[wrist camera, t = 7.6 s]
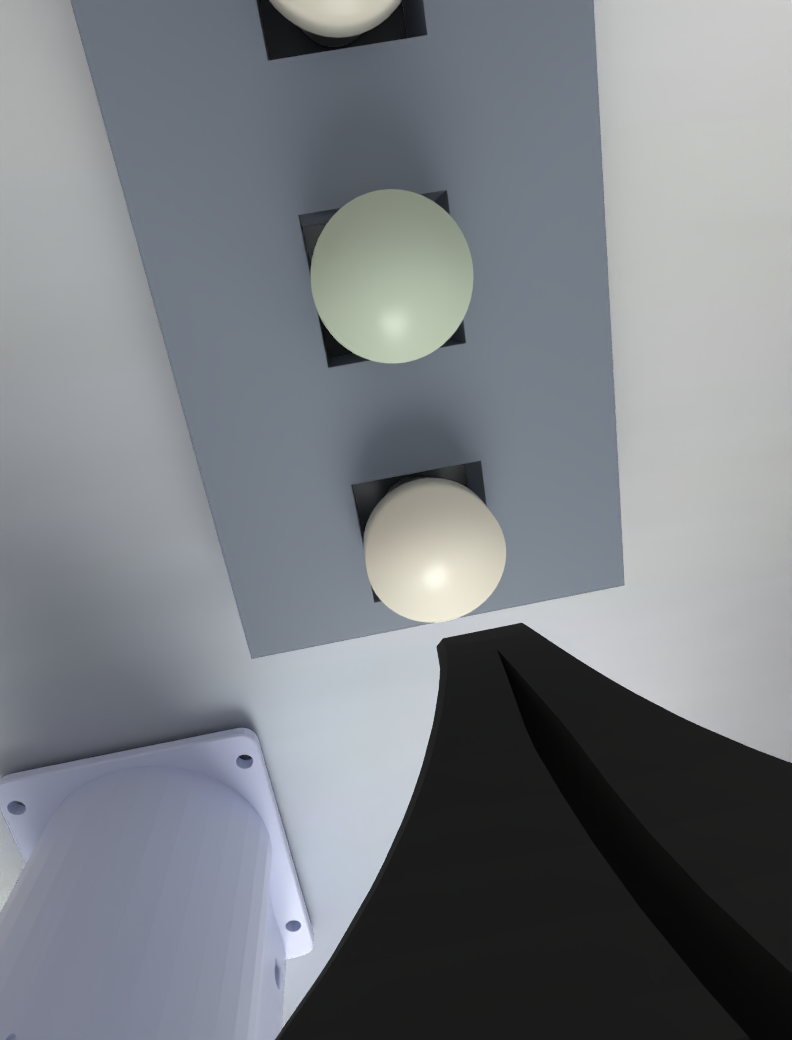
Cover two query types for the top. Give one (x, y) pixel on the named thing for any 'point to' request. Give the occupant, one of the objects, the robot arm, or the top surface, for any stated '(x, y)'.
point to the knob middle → (391, 276)
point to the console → (295, 320)
